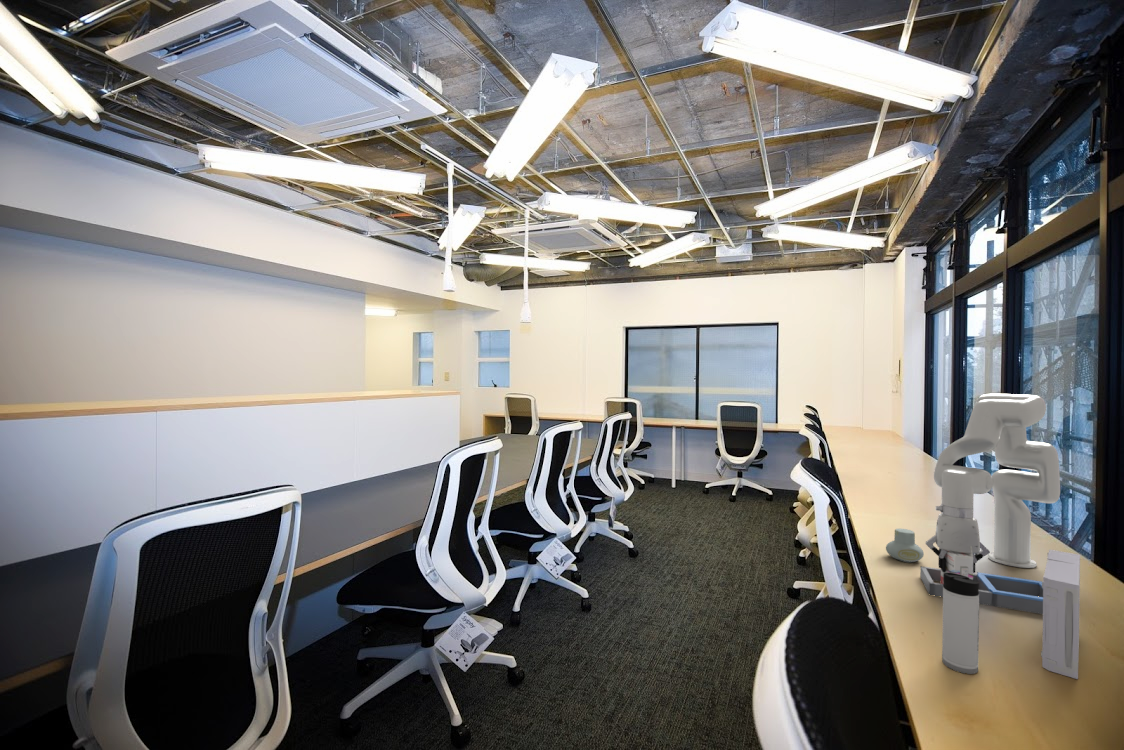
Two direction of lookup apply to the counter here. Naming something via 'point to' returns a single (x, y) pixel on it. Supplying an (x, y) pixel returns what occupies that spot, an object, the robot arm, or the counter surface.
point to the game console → (1061, 613)
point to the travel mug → (960, 623)
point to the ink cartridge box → (959, 564)
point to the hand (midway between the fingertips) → (956, 572)
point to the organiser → (995, 590)
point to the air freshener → (904, 546)
